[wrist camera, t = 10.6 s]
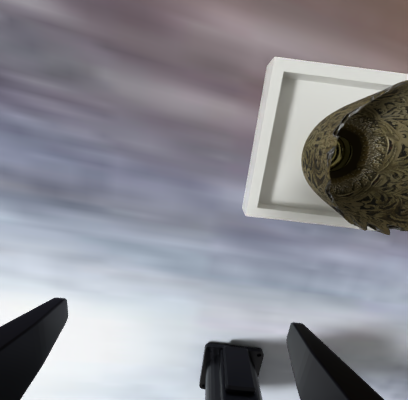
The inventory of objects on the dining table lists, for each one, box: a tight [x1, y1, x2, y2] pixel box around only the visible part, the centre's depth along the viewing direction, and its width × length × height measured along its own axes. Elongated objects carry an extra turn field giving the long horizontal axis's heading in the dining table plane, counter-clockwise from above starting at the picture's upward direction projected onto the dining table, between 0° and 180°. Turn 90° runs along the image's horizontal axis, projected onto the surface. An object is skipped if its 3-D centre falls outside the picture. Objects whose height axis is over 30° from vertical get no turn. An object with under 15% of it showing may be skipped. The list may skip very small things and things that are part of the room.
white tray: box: [242, 57, 408, 231], centre depth 18 cm, size 12×12×2 cm
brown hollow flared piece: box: [301, 80, 408, 235], centre depth 14 cm, size 8×7×8 cm
